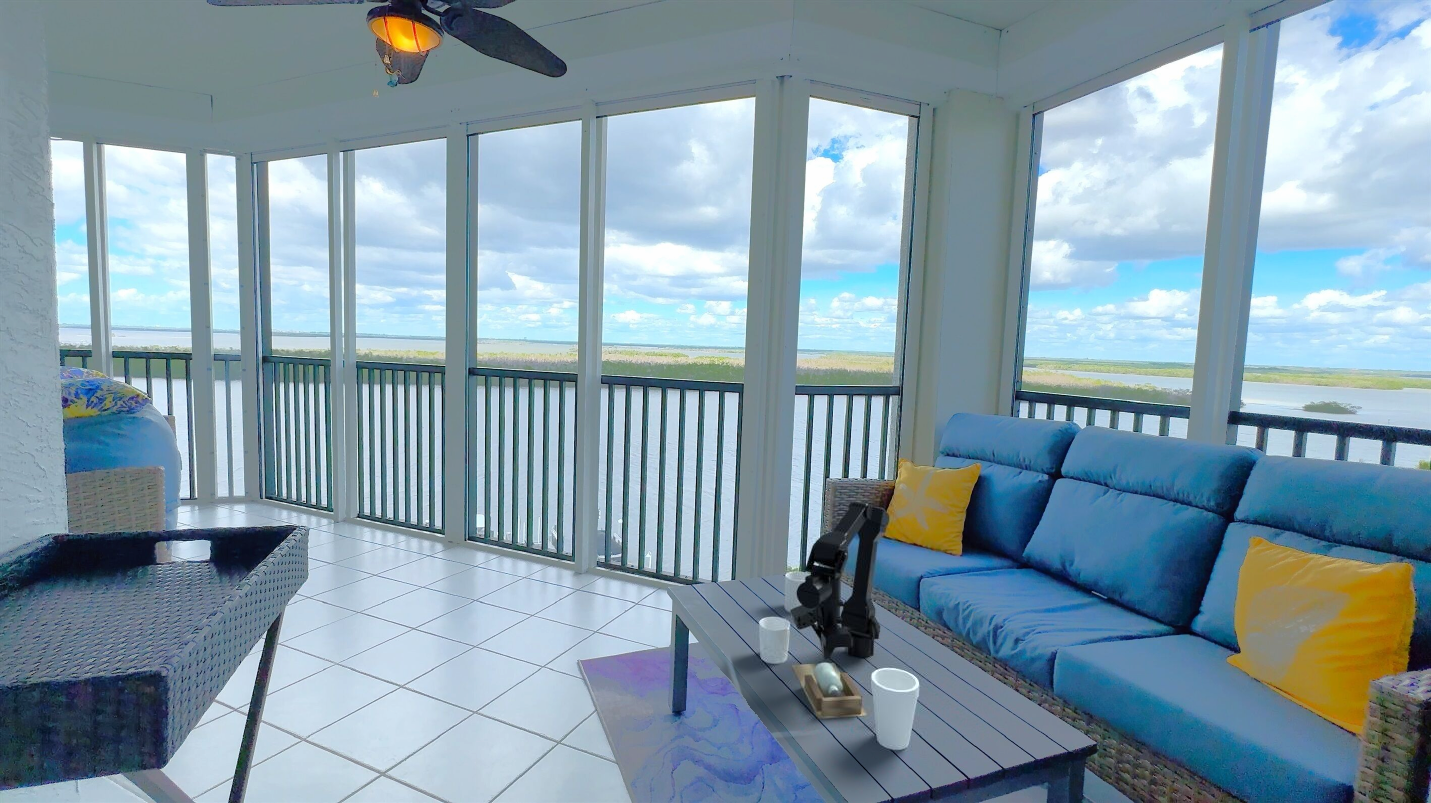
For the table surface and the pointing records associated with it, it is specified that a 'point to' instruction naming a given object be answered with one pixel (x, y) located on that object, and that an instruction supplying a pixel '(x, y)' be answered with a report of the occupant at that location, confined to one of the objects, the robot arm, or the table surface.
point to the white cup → (774, 639)
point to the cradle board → (832, 705)
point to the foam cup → (894, 706)
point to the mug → (793, 589)
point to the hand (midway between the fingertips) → (825, 658)
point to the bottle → (828, 680)
